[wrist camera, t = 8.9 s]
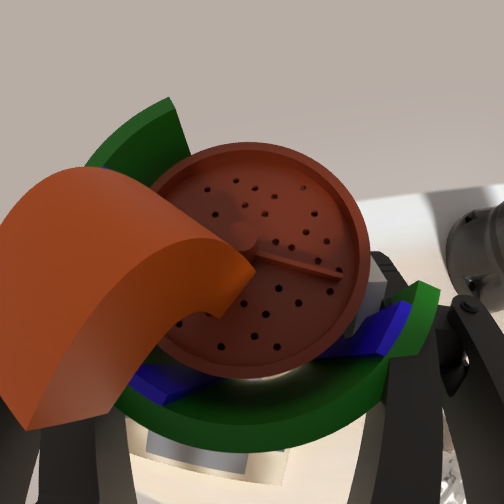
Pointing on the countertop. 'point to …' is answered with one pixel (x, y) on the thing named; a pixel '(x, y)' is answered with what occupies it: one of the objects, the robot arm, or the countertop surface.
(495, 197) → the countertop surface
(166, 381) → the green plastic cylinder
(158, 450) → the mount plate
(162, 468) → the countertop surface
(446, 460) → the mechanical part
